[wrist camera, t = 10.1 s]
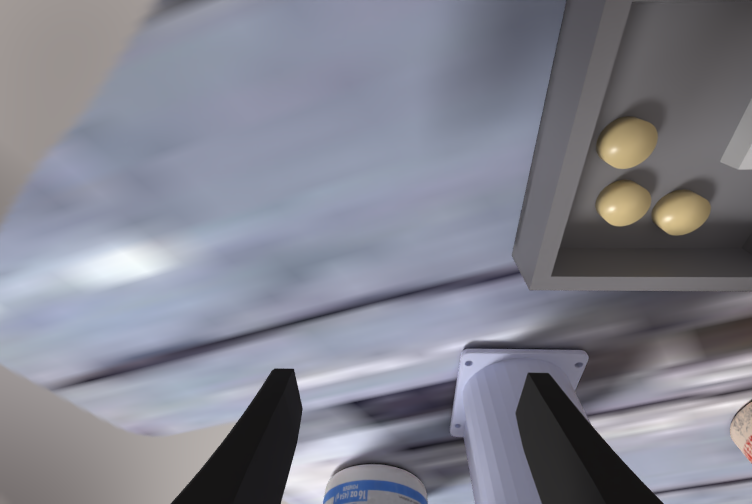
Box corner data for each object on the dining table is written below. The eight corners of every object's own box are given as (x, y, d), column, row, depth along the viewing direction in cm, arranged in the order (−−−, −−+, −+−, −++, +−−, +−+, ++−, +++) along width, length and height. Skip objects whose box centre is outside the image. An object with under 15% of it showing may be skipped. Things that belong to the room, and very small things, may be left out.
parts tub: (741, 255, 19) (795, 291, 16) (511, 255, 19) (529, 290, 17) (922, -32, 13) (1056, -46, 10) (571, -21, 13) (614, -32, 11)
